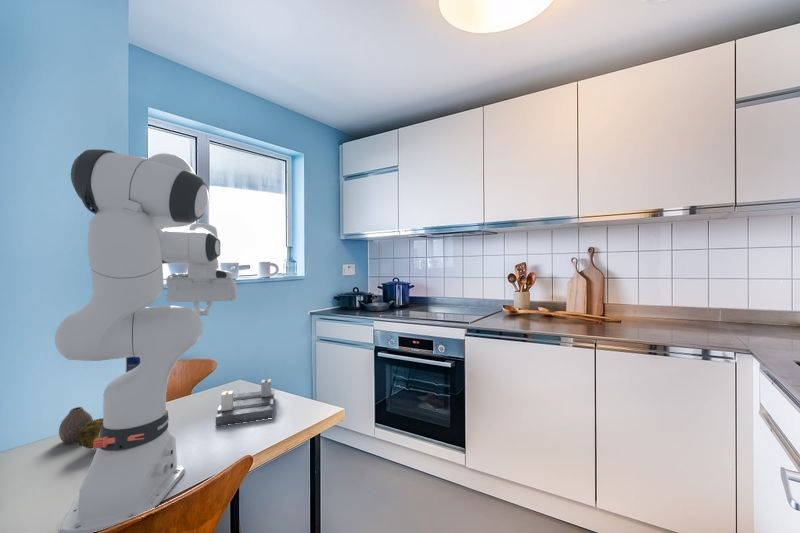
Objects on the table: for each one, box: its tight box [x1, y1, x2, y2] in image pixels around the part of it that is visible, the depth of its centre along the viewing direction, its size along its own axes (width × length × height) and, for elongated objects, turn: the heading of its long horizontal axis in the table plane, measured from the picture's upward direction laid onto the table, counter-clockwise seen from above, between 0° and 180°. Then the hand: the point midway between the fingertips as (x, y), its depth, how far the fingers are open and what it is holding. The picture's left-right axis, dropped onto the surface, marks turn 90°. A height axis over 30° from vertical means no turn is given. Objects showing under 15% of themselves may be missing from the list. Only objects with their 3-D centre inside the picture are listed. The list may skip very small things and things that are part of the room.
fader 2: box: [260, 378, 272, 397], centre depth 118 cm, size 3×3×5 cm
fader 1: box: [220, 389, 234, 411], centre depth 107 cm, size 3×3×5 cm
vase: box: [58, 406, 94, 445], centre depth 93 cm, size 7×7×9 cm
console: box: [215, 389, 275, 427], centre depth 112 cm, size 18×16×4 cm
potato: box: [77, 417, 103, 449], centre depth 90 cm, size 8×13×8 cm, turn 140°
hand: (203, 315), depth 111 cm, fingers closed
